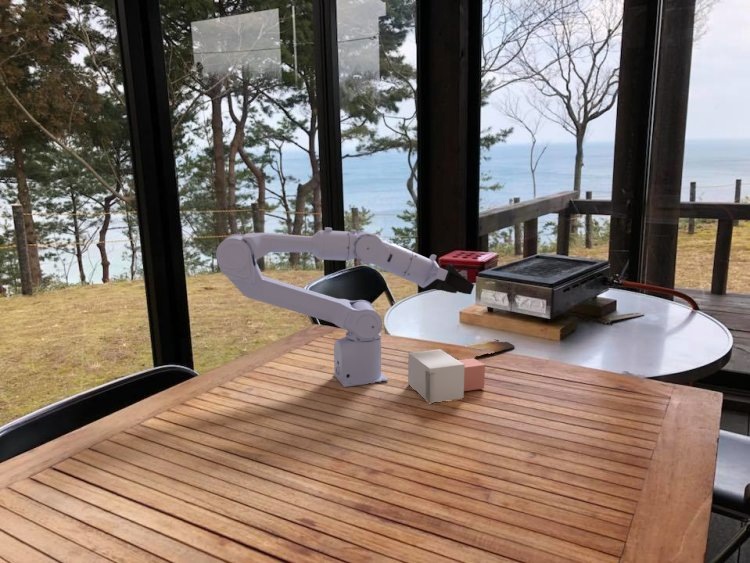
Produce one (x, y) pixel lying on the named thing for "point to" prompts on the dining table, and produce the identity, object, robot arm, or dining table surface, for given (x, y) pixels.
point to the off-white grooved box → (436, 375)
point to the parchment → (491, 345)
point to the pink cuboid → (473, 374)
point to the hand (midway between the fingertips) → (464, 289)
